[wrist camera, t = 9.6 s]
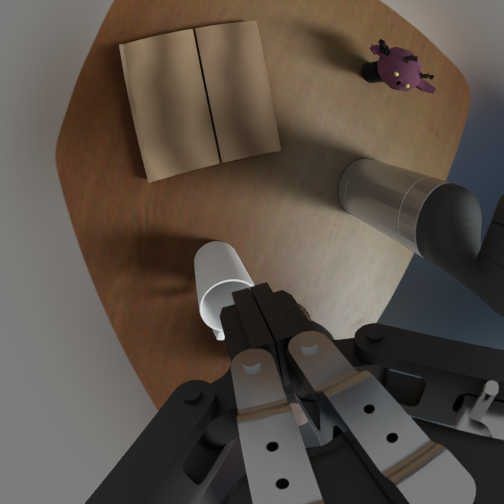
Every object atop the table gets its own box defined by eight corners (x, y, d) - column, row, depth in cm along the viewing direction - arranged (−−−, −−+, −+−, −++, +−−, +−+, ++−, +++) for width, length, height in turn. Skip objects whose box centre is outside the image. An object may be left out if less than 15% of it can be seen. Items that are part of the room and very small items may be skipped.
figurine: (342, 50, 35) (393, 34, 24) (382, 47, 36) (436, 35, 25) (356, 100, 39) (410, 99, 28) (395, 93, 39) (450, 93, 29)
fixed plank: (252, 24, 31) (256, 20, 30) (276, 149, 39) (281, 150, 37) (194, 32, 30) (195, 28, 29) (220, 161, 38) (222, 162, 36)
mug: (196, 235, 41) (205, 275, 30) (243, 242, 43) (267, 282, 32) (185, 298, 45) (191, 351, 34) (229, 302, 47) (246, 354, 36)
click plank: (190, 33, 30) (192, 28, 28) (217, 162, 38) (220, 163, 36) (120, 49, 28) (119, 44, 27) (149, 180, 36) (148, 183, 34)
